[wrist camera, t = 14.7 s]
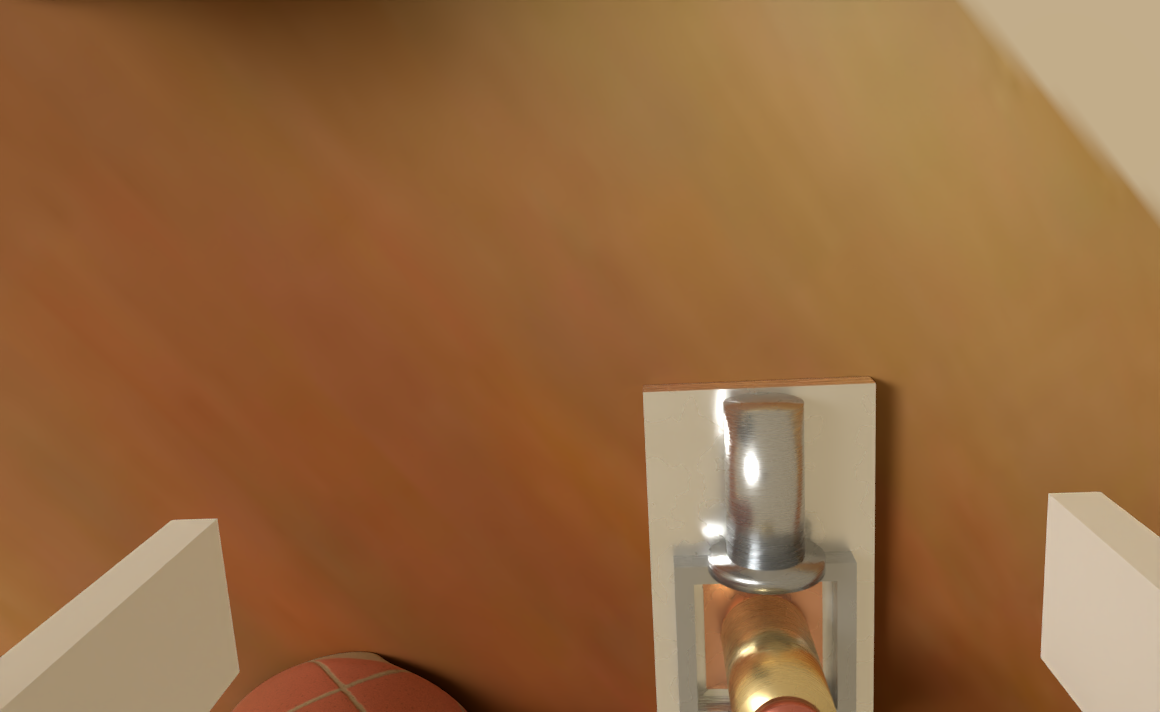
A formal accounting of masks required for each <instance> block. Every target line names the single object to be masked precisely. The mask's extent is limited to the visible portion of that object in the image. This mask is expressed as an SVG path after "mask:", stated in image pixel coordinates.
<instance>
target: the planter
mask: <svg viewBox="0 0 1160 712" xmlns="http://www.w3.org/2000/svg"><path fill="white" fill-rule="evenodd" d="M231 712H467V711H466V710H465V709H464V708H463V707H462V706H461V705H460V704H459V703H458V702H457V701H456V700H455V699H454V698H452V697H451V696H450V695H449V694H447V693H446V692H445V691H443V690H442V689H440V688H439V687H438V686H436V685H434V684H433V683H431V682H429V681H428V680H426V679H424V678H422V677H420V676H418V675H416V674H414V673H412V672H409V671H407V670H405V669H402V668H400V667H398V666H395V665H393V664H391V663H389V662H387V661H386V660H384V659H383V658H382V657H380V656H379V655H377V654H374V653H370V652H346V653H338V654H333V655H328V656H324V657H320V658H317V659H314V660H310V661H307V662H304V663H302V664H299V665H296V666H294V667H291V668H289V669H287V670H285V671H282V672H280V673H279V674H277V675H275V676H273V677H271V678H270V679H268V680H266V681H265V682H263V683H262V684H261V685H259V686H258V687H257V688H255V689H254V690H253V691H251V692H250V693H249V694H248V695H247V696H246V697H245V698H244V699H242V701H241V702H240V703H239V704H238V705H237V706H236V707H235V708H234V709H233V710H232V711H231Z"/></svg>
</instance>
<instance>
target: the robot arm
mask: <svg viewBox="0 0 1160 712" xmlns="http://www.w3.org/2000/svg"><path fill="white" fill-rule="evenodd" d="M1041 659H1042V660H1043V661H1044V662H1045V664H1046V665H1047V666H1048V668H1049V669H1050V670H1051V672H1052V673H1053V674H1054V675H1055V677H1056V678H1057V679H1058V681H1059V682H1060V683H1061V685H1062V686H1063V687H1064V688H1065V690H1066V691H1067V692H1068V694H1069V695H1070V696H1071V698H1072V699H1073V700H1074V701H1075V703H1076V704H1077V705H1078V707H1079V708H1080V709H1081V711H1082V712H1160V537H1159V536H1157V535H1156V534H1155V533H1154V532H1152V531H1151V530H1150V529H1148V528H1147V527H1146V526H1144V525H1143V524H1142V523H1141V522H1139V521H1138V520H1137V519H1135V518H1134V517H1133V516H1131V515H1130V514H1129V513H1127V512H1126V511H1125V510H1124V509H1122V508H1121V507H1120V506H1118V505H1117V504H1116V503H1114V502H1113V501H1112V500H1111V499H1109V498H1108V497H1107V496H1105V495H1104V494H1103V493H1101V492H1075V493H1048V514H1047V534H1046V555H1045V576H1044V597H1043V618H1042V639H1041ZM238 673H239V665H238V658H237V651H236V644H235V637H234V630H233V624H232V617H231V610H230V603H229V596H228V589H227V582H226V575H225V568H224V562H223V555H222V548H221V541H220V534H219V527H218V520H217V519H189V520H171V521H170V522H169V523H168V524H166V525H165V526H164V527H163V528H161V529H160V530H159V531H158V532H156V533H155V534H154V535H153V536H151V537H150V538H149V539H148V540H146V541H145V542H144V543H143V544H141V545H140V546H139V547H138V548H136V549H135V550H134V551H133V552H131V553H130V554H129V555H128V556H126V557H125V558H124V559H123V560H121V561H120V562H119V563H118V564H116V565H115V566H114V567H113V568H111V569H110V570H109V571H108V572H106V573H105V574H104V575H103V576H101V577H100V578H99V579H98V580H96V581H95V582H94V583H93V584H91V585H90V586H89V587H88V588H86V589H85V590H84V591H83V592H81V593H80V594H79V595H78V596H76V597H75V598H74V599H73V600H71V601H70V602H69V603H68V604H66V605H65V606H64V607H63V608H61V609H60V610H59V611H58V612H56V613H55V614H54V615H53V616H51V617H50V618H49V619H48V620H46V621H45V622H44V623H43V624H41V625H40V626H39V627H38V628H36V629H35V630H34V631H33V632H31V633H30V634H29V635H28V636H26V637H25V638H24V639H23V640H21V641H20V642H19V643H18V644H16V645H15V646H14V647H13V648H11V649H10V650H9V651H8V652H7V653H5V654H4V655H3V656H2V657H0V712H209V711H210V710H211V709H212V707H213V706H214V705H215V703H216V702H217V701H218V699H219V698H220V697H221V696H222V694H223V693H224V692H225V690H226V689H227V688H228V686H229V685H230V684H231V682H232V681H233V680H234V678H235V677H236V676H237V675H238Z"/></svg>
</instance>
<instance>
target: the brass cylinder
mask: <svg viewBox="0 0 1160 712" xmlns="http://www.w3.org/2000/svg"><path fill="white" fill-rule="evenodd" d="M721 643H722V650H723V657H724V664H725V671H726V678H727V685H728V692H729V698H730V705H731V712H836V709H835V706H834V703H833V700H832V697H831V694H830V691H829V688H828V685H827V682H826V678H825V675H824V672H823V669H822V666H821V663H820V660H819V657H818V654H817V651H816V648H815V645H814V642H813V639H812V636H811V633H810V630H809V627H808V624H807V621H806V619H805V617H804V615H803V614H802V613H801V611H800V610H799V609H798V608H797V607H796V606H795V605H793V604H792V603H791V602H789V601H787V600H785V599H783V598H780V597H776V596H771V595H760V596H754V597H750V598H747V599H745V600H743V601H741V602H740V603H738V604H737V605H736V606H734V607H733V608H732V609H731V610H730V611H729V613H728V614H727V616H726V618H725V620H724V622H723V625H722V629H721Z"/></svg>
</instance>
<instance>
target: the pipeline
mask: <svg viewBox="0 0 1160 712" xmlns="http://www.w3.org/2000/svg"><path fill="white" fill-rule="evenodd" d="M643 404H644V426H645V448H646V470H647V493H648V515H649V537H650V559H651V581H652V604H653V626H654V648H655V670H656V693H657V712H731V705H730V698H729V692H728V685H727V678H726V671H725V664H724V657H723V650H722V643H721V629H722V625H723V622H724V620H725V618H726V616H727V614H728V613H729V611H730V610H731V609H732V608H733V607H734V606H736V605H737V604H738V603H740V602H741V601H743V600H745V599H747V598H750V597H754V596H760V595H771V596H776V597H780V598H783V599H785V600H787V601H789V602H791V603H792V604H793V605H795V606H796V607H797V608H798V609H799V610H800V611H801V613H802V614H803V615H804V617H805V619H806V621H807V624H808V627H809V630H810V633H811V636H812V639H813V642H814V645H815V648H816V651H817V654H818V657H819V660H820V663H821V666H822V669H823V672H824V675H825V678H826V682H827V685H828V688H829V691H830V694H831V697H832V700H833V703H834V706H835V709H836V712H873V695H874V564H875V432H876V383H875V382H874V381H873V380H872V379H871V378H870V376H864V377H839V378H814V379H788V380H763V381H738V382H713V383H688V384H663V385H643Z"/></svg>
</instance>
